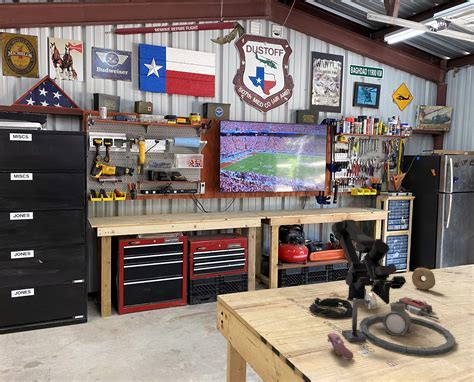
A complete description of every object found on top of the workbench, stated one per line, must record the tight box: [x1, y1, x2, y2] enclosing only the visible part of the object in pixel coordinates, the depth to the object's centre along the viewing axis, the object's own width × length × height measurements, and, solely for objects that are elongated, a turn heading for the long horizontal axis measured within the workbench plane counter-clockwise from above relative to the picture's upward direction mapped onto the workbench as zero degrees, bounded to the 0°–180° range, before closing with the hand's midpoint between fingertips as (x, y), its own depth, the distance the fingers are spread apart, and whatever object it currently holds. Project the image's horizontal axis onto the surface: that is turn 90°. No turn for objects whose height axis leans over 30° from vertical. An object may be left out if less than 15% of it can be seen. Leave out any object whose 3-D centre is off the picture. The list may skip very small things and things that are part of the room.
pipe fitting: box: [382, 301, 411, 337], centre depth 148 cm, size 12×8×10 cm
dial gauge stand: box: [341, 292, 378, 343], centre depth 140 cm, size 9×6×15 cm, turn 100°
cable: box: [308, 297, 353, 319], centre depth 164 cm, size 17×14×4 cm
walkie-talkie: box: [395, 296, 440, 320], centre depth 167 cm, size 9×4×20 cm
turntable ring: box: [358, 313, 456, 356], centre depth 144 cm, size 30×30×2 cm
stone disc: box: [411, 267, 437, 291], centre depth 195 cm, size 10×4×10 cm, turn 46°
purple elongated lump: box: [326, 331, 354, 360], centre depth 130 cm, size 10×5×7 cm, turn 5°
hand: (387, 303), depth 155 cm, fingers closed
